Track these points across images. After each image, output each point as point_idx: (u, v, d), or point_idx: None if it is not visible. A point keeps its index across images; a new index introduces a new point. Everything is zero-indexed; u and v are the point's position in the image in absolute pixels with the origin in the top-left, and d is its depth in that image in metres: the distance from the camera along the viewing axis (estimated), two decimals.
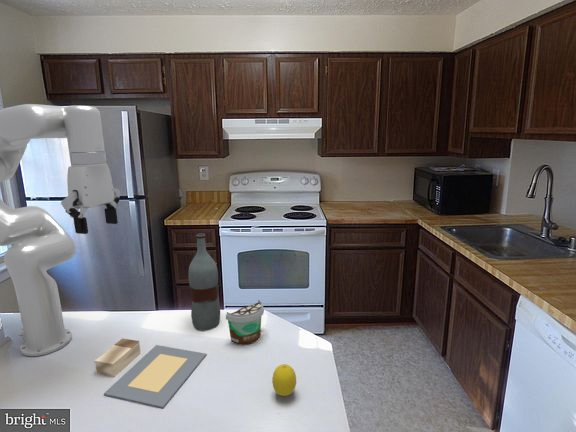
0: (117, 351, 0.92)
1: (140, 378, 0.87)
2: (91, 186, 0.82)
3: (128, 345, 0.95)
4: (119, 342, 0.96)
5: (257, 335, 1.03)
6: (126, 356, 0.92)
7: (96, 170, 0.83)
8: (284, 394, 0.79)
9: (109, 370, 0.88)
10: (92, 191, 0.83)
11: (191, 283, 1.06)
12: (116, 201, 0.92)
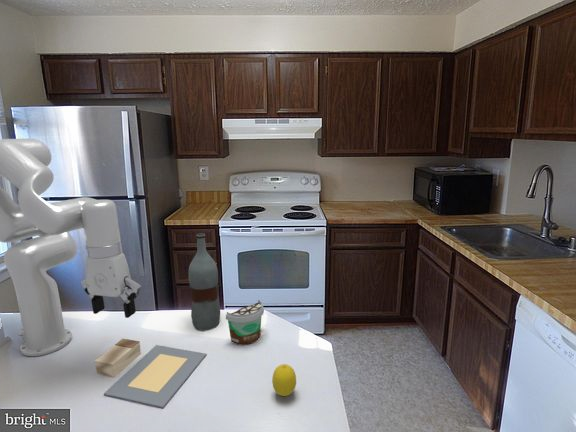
0: (118, 351, 0.92)
1: (140, 378, 0.87)
2: None
3: (128, 345, 0.94)
4: (119, 342, 0.96)
5: (257, 335, 1.03)
6: (126, 356, 0.92)
7: None
8: (284, 394, 0.79)
9: (109, 370, 0.88)
10: None
11: (191, 283, 1.06)
12: None
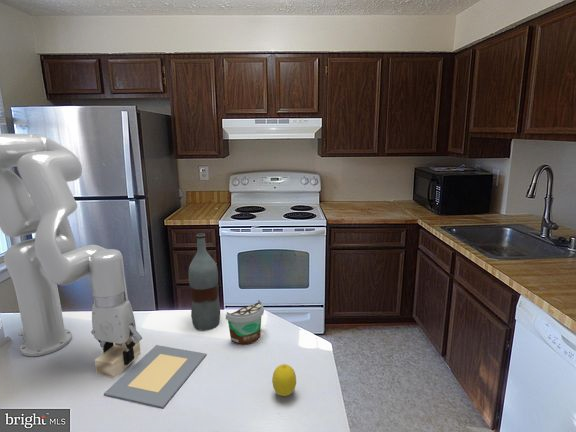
0: (118, 351, 0.92)
1: (140, 378, 0.87)
2: None
3: None
4: None
5: (257, 335, 1.03)
6: None
7: None
8: (284, 394, 0.79)
9: (109, 370, 0.88)
10: None
11: (191, 283, 1.06)
12: None
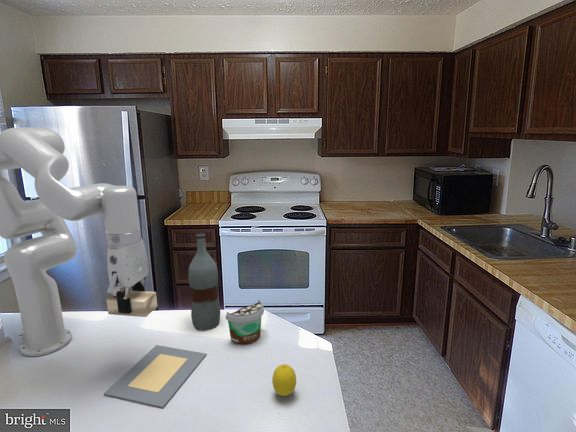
0: (133, 295, 0.87)
1: (140, 378, 0.87)
2: None
3: None
4: None
5: (257, 335, 1.03)
6: None
7: None
8: (284, 394, 0.79)
9: (154, 301, 0.88)
10: None
11: (191, 283, 1.06)
12: None
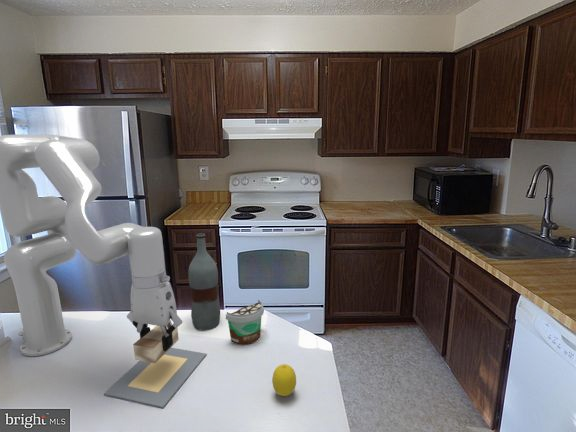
0: (156, 334, 0.87)
1: (140, 378, 0.87)
2: (136, 305, 0.83)
3: (145, 339, 0.85)
4: (155, 342, 0.83)
5: (257, 335, 1.03)
6: None
7: (141, 292, 0.82)
8: (284, 394, 0.79)
9: None
10: (137, 310, 0.83)
11: (191, 283, 1.06)
12: (169, 330, 0.84)
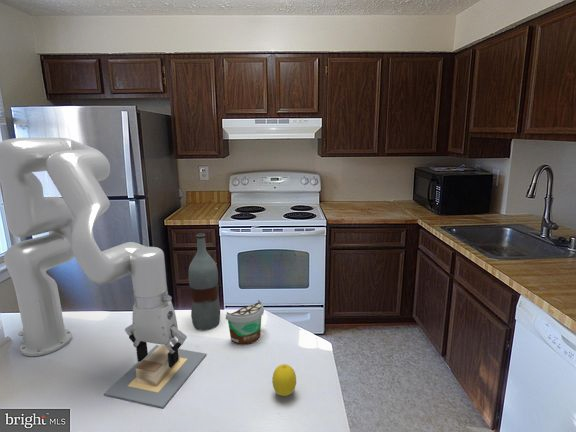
0: (157, 356, 0.89)
1: None
2: (138, 324, 0.84)
3: (147, 362, 0.86)
4: (157, 365, 0.85)
5: (257, 335, 1.03)
6: None
7: (143, 312, 0.83)
8: (284, 394, 0.79)
9: None
10: (139, 328, 0.84)
11: (191, 283, 1.06)
12: (175, 346, 0.85)
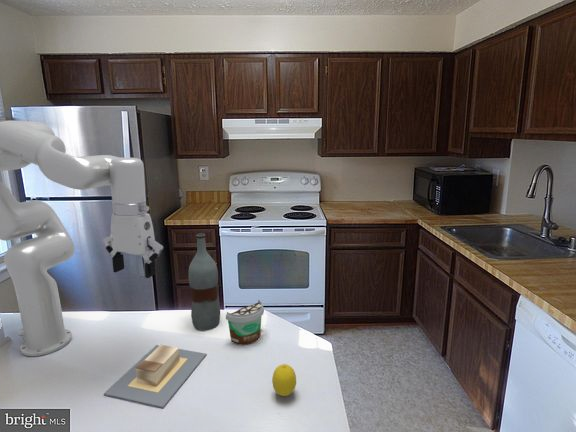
0: (157, 356, 0.89)
1: None
2: (116, 233, 0.86)
3: (147, 362, 0.86)
4: (157, 365, 0.85)
5: (257, 335, 1.03)
6: None
7: (120, 220, 0.84)
8: (284, 394, 0.79)
9: None
10: (116, 238, 0.86)
11: (191, 283, 1.06)
12: (152, 257, 0.86)
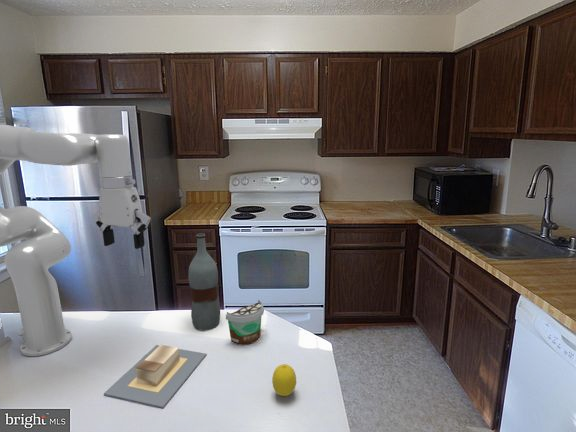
0: (157, 356, 0.89)
1: None
2: (105, 207, 0.90)
3: (147, 362, 0.86)
4: (157, 365, 0.85)
5: (257, 335, 1.03)
6: None
7: (108, 194, 0.89)
8: (284, 394, 0.79)
9: None
10: (106, 211, 0.90)
11: (191, 283, 1.06)
12: (141, 228, 0.91)
